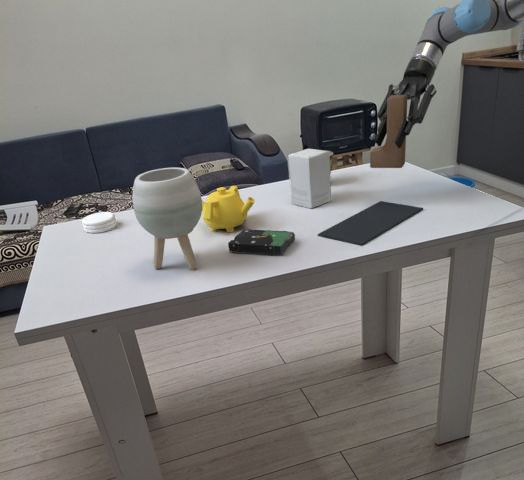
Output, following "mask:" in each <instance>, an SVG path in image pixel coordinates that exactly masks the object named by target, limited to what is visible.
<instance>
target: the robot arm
mask: <svg viewBox="0 0 524 480" xmlns="http://www.w3.org/2000/svg"><path fill="white" fill-rule="evenodd" d="M523 21H524V0H462V1H460V2H458V4H456V5H455V6H453V7H447V6H443V7H439V6H438V7H437V8H435V9H434V10H433V11H431V13H430V16H429V17H428V18H427V20H426V22H425V25H424V27H423V29H422V33H421V35H420V37H419V40H418V42H417V44H416V46H415V47H414V50H413V53H412V55H411V56H410V59H409V62H408V64H407V66H406V68H405V70H404V73H403V77H402V80H401V81H400V82H398V84H396V85H394V84H392V83H391V84H389V86H388V89H387V93H386V96H385V97H384V99H383V101H382V103H381V106H380V107H379V109H378V112H377V114H376V117H377V118H378V120H379V125H378V126H377V134H376V136H375V138H374V142H375V144H376V145H377V147H382V146H383V143H384V140H385V139H386V137H387V99H388V98H389V97H390V96H391V95H407V101H409V100H410V102H409V108H408V114H407V120H404V122H403V124H402V126H401V129H400V131H399V133H398V135H397V137H396V140H395V144H396V145H397V147H398V148H401V146H402V144H403V142H404V139H405V137H406V138H407V136H409V135H410V134H411V132H412V129H413V127H414V126H415V125H416V124H418V125H420V124H422V123H423V122H424V119H425V116H426V114H427V111H428V109H429V106H430V104H431V101H432V99H433V98H434V97H435V95H436V94H437V89H436V87H435V85H434V84H431V82H432V80H433V78H434V76H435V73H436V70H437V69H438V66H439V64H440V62H441V60H442V57H443V55H444V53H445V51H446V49H447V47H448V46H449V45H451V44H453V43H455V42H457V41H459V40H461V39H463V38H464V37H467V36H473V35H479V34H485V33H492V32H498V31H507V30H510V29H513V28H516V27H518V26H520V25H521V24H522V22H523ZM422 95H423V96H422ZM421 96H422V99H421Z"/></svg>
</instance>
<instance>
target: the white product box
mask: <svg viewBox="0 0 524 480" xmlns="http://www.w3.org/2000/svg"><path fill="white" fill-rule="evenodd" d="M329 151H330V150H325V151H323V149H314V148H305V149H302V150H299V151H296V152H293V153H290V154H288V167H289V168H288V169H289V180H290V194H291V204H292V205H295V206H299V207H304V208H308V209H313V208H317V207H319V206H321V205H324V204H326V203H330V202H332V188H331V187H332V186H331V185H332V184H331V175H330V154H329Z"/></svg>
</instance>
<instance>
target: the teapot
mask: <svg viewBox="0 0 524 480" xmlns="http://www.w3.org/2000/svg"><path fill="white" fill-rule="evenodd" d="M254 203H255V199H254V198H253V197H250V196H249V197H247V199H246V200H245V202H244V200H243V199H242V198H241V195H240V190H239V188H238V185H231V186H230V187H229V189H227V188H226V187H224V186H221V187H217V188H216V191H212V192H211V193H209V195H208V196H207V198H206V201H205V202H204V200H202V220H203V222H204V224H206V225H207V226H208V227H210V229H209V230H210V231H211V232H213V231H218V230H224V229H225V230H226V232H227V233H232V232H234V231H235V229H234V228H235V227H238V226H242V225H243V224H244V222H245V220H246V219H247V218H248V212H249V211H250V210H251V209H252V207H253V205H254Z"/></svg>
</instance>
